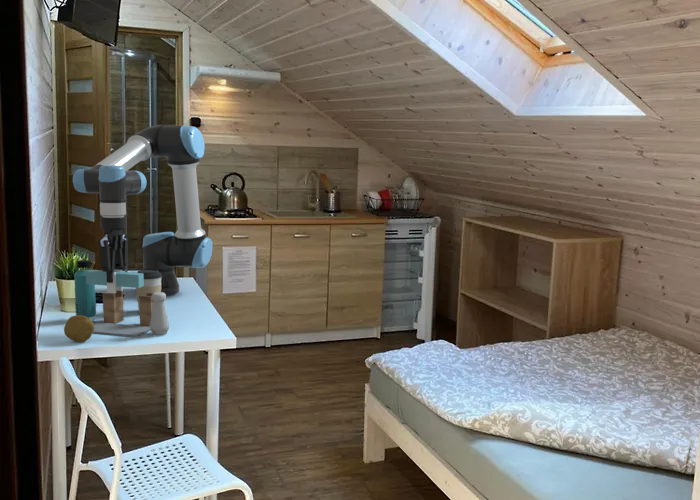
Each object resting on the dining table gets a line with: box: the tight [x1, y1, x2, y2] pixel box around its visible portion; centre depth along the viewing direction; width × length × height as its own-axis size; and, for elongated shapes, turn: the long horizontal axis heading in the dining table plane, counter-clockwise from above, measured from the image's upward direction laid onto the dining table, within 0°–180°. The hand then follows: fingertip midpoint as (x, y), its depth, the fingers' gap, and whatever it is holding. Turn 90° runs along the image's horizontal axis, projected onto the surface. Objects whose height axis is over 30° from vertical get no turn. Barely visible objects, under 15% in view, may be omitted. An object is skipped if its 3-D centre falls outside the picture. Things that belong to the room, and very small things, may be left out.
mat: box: [92, 321, 151, 338], centre depth 221 cm, size 10×20×1 cm, turn 77°
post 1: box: [102, 291, 125, 324], centre depth 230 cm, size 5×4×10 cm
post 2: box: [139, 293, 154, 327], centre depth 227 cm, size 5×4×10 cm
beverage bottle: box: [73, 259, 97, 319], centre depth 230 cm, size 6×7×20 cm
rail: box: [86, 269, 144, 289], centre depth 218 cm, size 3×18×4 cm, turn 77°
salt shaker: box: [150, 292, 170, 337], centre depth 217 cm, size 6×6×13 cm
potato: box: [63, 314, 94, 343], centre depth 208 cm, size 7×8×8 cm
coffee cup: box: [135, 268, 162, 314], centre depth 243 cm, size 9×9×15 cm
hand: (115, 291), depth 218 cm, fingers closed on rail, 3 cm apart
